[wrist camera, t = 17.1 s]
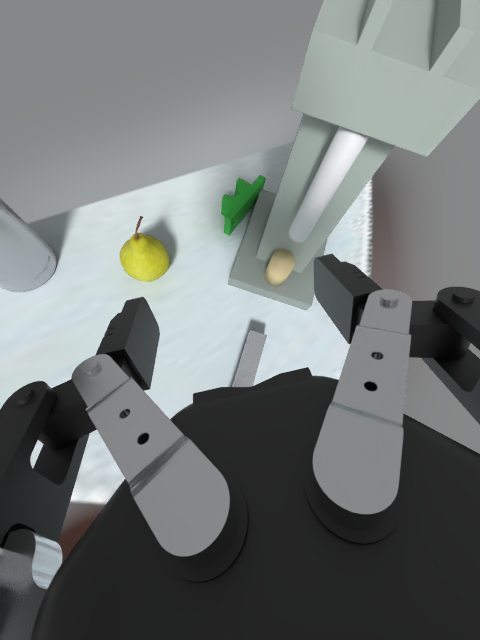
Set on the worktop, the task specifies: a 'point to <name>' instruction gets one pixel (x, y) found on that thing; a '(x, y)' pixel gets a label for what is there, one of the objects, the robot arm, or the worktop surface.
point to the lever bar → (249, 359)
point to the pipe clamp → (240, 202)
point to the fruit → (144, 257)
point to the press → (358, 125)
